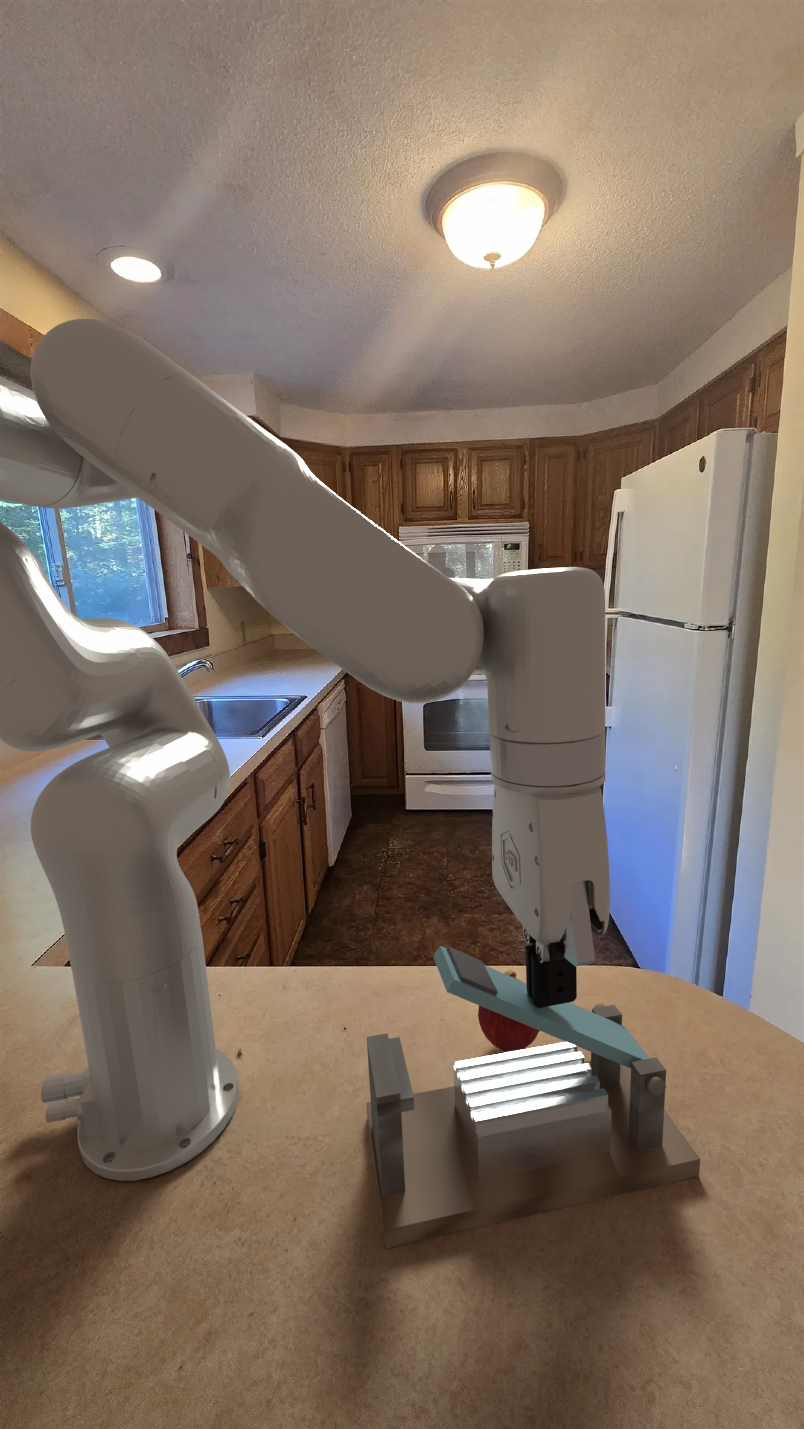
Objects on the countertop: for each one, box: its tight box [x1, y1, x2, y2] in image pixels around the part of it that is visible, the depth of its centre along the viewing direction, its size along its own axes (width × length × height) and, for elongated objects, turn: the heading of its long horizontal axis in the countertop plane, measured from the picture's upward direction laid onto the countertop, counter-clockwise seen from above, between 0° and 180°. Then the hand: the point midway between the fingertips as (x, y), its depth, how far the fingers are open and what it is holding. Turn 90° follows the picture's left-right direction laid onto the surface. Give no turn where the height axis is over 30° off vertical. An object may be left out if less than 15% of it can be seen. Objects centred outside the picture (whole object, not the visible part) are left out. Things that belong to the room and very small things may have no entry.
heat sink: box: [453, 1041, 611, 1181], centre depth 44 cm, size 10×6×4 cm, turn 100°
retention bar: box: [433, 945, 650, 1068], centre depth 43 cm, size 18×4×1 cm
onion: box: [477, 969, 540, 1052], centre depth 54 cm, size 6×6×8 cm
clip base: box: [366, 1003, 701, 1249], centre depth 44 cm, size 23×10×10 cm, turn 100°
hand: (551, 997), depth 43 cm, fingers closed
